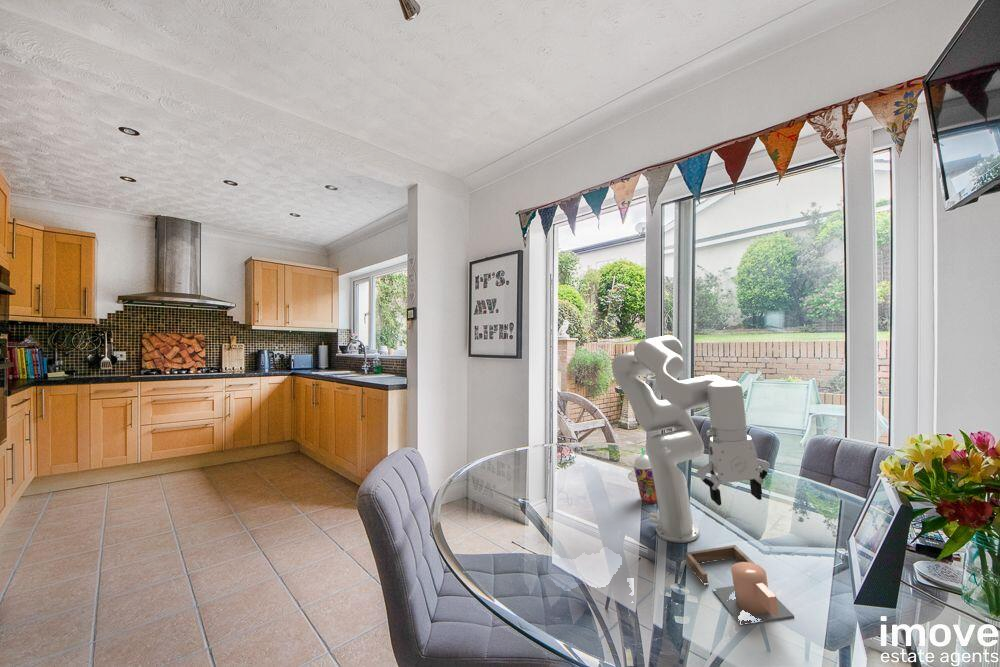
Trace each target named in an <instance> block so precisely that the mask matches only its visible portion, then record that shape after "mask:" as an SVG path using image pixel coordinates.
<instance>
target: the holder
mask: <svg viewBox="0 0 1000 667" xmlns="http://www.w3.org/2000/svg"><path fill="white" fill-rule="evenodd" d="M685 558H686V563H687V566H688V567H689V568H690V567H691V568H690V569H691V570H692V571H694V572H695V573H696V574H695V573H694V572H693V573H694V574H695V576H696V577H697V576H698V577H699V578H700V579H701V580H702V582H703V583H708V584H709V579H708V578H709V577H708V574H707V572H706V571H705V570H704V568H703V567H702V566H701V565H700V564H703V563H702V562H707V561H713V562H715V561H714V560H719V561H723V560H722V559H725V560H729V559H730V558H732V559H736V561H738V563H739V562H749V563H754V564H756V563H755V562H754V561H753V560H752V559H751V558H750V557H748V555H746V554H745V553H744V552H743V551H742V550H741V549H740V548H739V546H737V545H736V544H731V545H727V546H726V545H725V546H720V547H715V548H713V547H712V548H707V549H701V550H695V551H689V552H685ZM698 563H700V564H698ZM707 563H708V562H707ZM698 577H697V578H698ZM699 578H698V579H699ZM700 579H699V580H700ZM702 582H701V583H702ZM703 583H702V584H703Z"/></svg>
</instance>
